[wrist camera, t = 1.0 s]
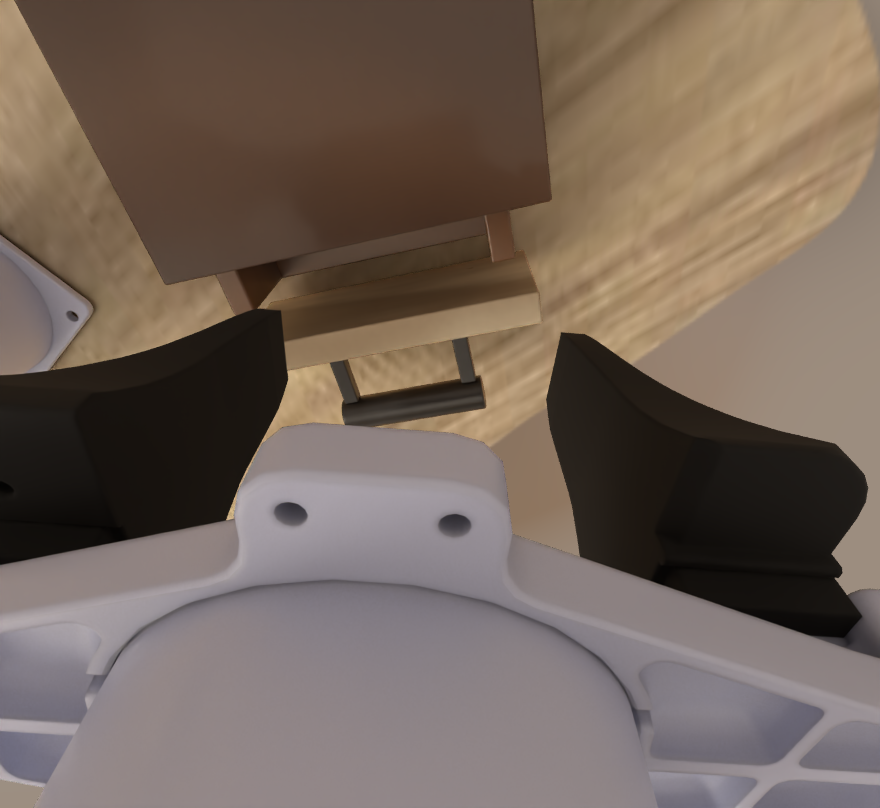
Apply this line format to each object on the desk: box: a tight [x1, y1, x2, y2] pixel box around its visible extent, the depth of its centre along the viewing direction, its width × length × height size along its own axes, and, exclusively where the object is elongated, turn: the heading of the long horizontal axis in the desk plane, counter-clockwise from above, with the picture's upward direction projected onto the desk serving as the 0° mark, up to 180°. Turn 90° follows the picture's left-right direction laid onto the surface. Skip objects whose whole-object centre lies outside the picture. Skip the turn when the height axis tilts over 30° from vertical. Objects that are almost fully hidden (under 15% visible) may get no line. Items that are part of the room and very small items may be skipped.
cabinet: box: [14, 0, 552, 285], centre depth 15 cm, size 12×12×6 cm
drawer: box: [216, 210, 543, 427], centre depth 19 cm, size 16×11×5 cm
